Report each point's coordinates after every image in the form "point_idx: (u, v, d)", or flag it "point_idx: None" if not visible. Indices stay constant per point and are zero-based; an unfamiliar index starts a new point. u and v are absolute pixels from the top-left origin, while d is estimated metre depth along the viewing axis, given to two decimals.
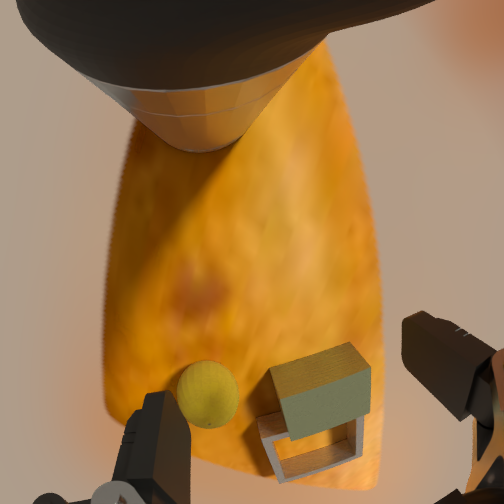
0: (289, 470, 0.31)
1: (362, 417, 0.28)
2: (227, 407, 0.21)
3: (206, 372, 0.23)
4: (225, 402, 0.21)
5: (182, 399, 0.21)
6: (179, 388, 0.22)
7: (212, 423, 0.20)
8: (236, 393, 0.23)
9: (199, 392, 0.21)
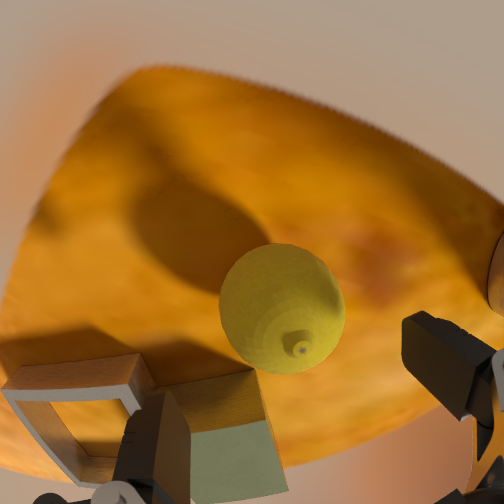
0: None
1: None
2: (311, 367, 0.11)
3: None
4: (321, 361, 0.11)
5: (322, 275, 0.11)
6: (317, 259, 0.12)
7: (302, 355, 0.10)
8: None
9: (344, 312, 0.11)
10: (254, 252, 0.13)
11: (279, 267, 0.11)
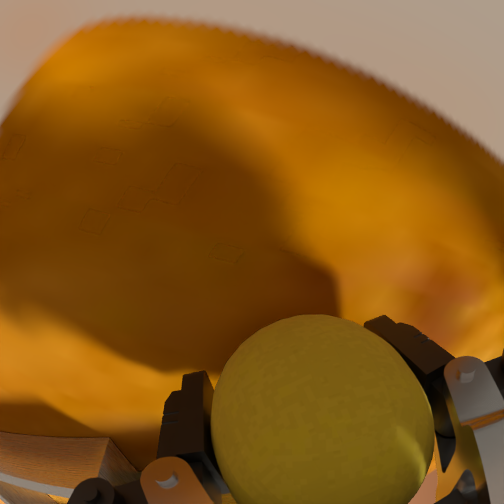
0: None
1: None
2: None
3: None
4: None
5: (415, 401, 0.04)
6: (395, 357, 0.06)
7: None
8: None
9: None
10: (275, 349, 0.06)
11: (338, 407, 0.04)
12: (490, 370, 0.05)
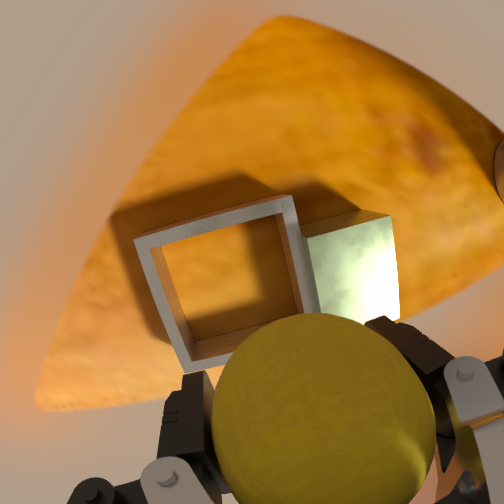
0: (156, 255, 0.22)
1: None
2: None
3: None
4: None
5: (416, 399, 0.04)
6: (396, 356, 0.06)
7: None
8: None
9: None
10: (276, 347, 0.06)
11: (339, 405, 0.04)
12: (490, 370, 0.05)
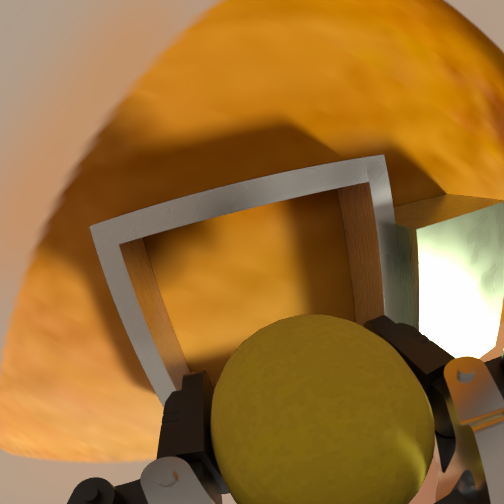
0: (134, 258, 0.12)
1: None
2: None
3: None
4: None
5: (415, 401, 0.04)
6: (395, 357, 0.06)
7: None
8: None
9: None
10: (274, 349, 0.06)
11: (338, 407, 0.04)
12: (490, 370, 0.05)
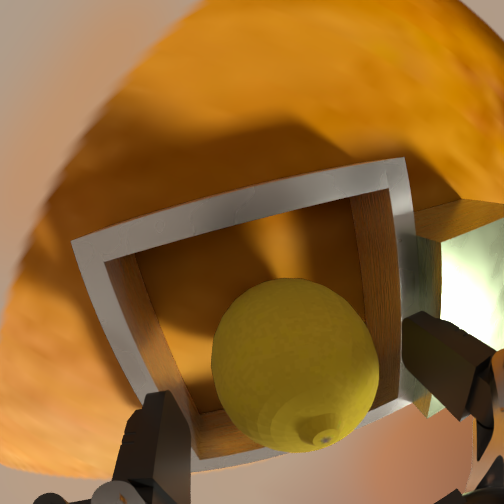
0: (122, 275, 0.10)
1: (374, 419, 0.12)
2: None
3: None
4: None
5: (353, 330, 0.07)
6: (343, 304, 0.09)
7: (325, 445, 0.06)
8: None
9: (378, 374, 0.08)
10: (257, 294, 0.09)
11: (293, 324, 0.07)
12: None
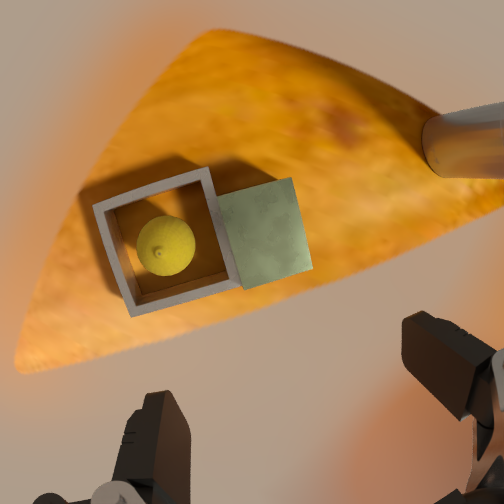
0: (109, 218, 0.27)
1: (218, 290, 0.29)
2: (172, 268, 0.24)
3: (194, 245, 0.27)
4: (177, 266, 0.25)
5: (174, 224, 0.24)
6: (177, 220, 0.26)
7: (160, 256, 0.23)
8: (175, 273, 0.26)
9: (186, 242, 0.25)
10: None
11: (155, 222, 0.24)
12: None
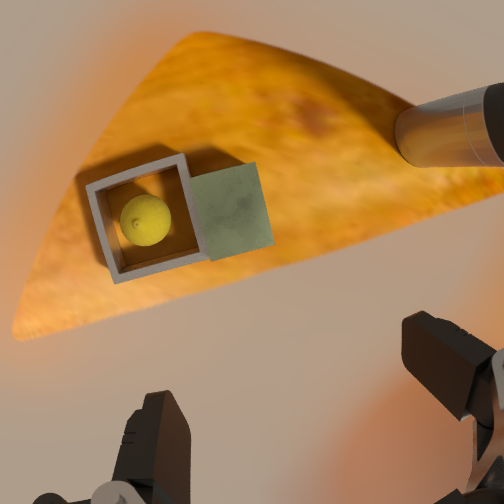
0: (100, 197, 0.31)
1: (190, 261, 0.32)
2: (148, 238, 0.28)
3: (169, 220, 0.30)
4: (152, 236, 0.28)
5: (151, 201, 0.28)
6: (155, 198, 0.29)
7: (137, 227, 0.26)
8: (152, 244, 0.30)
9: (161, 216, 0.28)
10: None
11: (136, 199, 0.28)
12: None
